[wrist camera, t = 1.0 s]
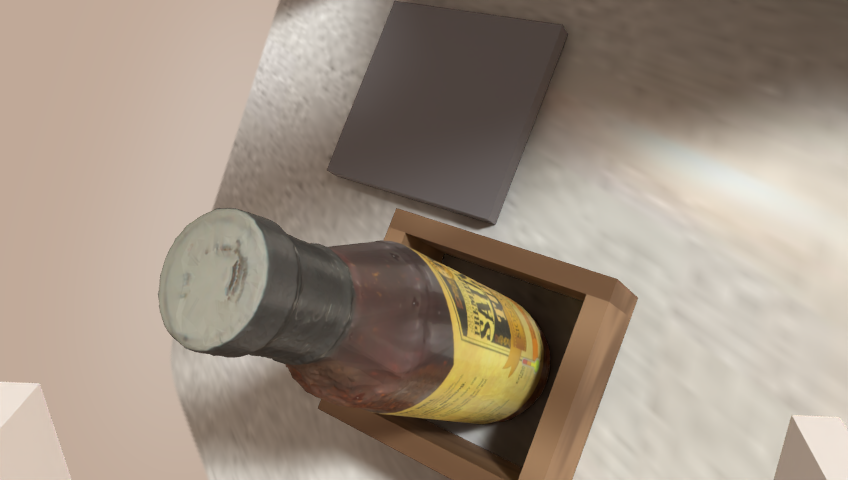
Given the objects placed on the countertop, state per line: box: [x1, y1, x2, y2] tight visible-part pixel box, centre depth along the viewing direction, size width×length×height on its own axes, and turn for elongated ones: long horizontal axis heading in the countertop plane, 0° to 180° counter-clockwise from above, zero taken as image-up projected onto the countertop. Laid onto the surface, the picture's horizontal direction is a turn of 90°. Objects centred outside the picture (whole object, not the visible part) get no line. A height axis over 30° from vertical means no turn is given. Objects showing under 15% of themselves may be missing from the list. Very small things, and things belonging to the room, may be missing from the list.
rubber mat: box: [327, 1, 568, 225], centre depth 41 cm, size 11×11×1 cm
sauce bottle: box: [158, 208, 550, 424], centre depth 28 cm, size 6×6×20 cm
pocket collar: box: [318, 208, 638, 480], centre depth 34 cm, size 10×11×4 cm
